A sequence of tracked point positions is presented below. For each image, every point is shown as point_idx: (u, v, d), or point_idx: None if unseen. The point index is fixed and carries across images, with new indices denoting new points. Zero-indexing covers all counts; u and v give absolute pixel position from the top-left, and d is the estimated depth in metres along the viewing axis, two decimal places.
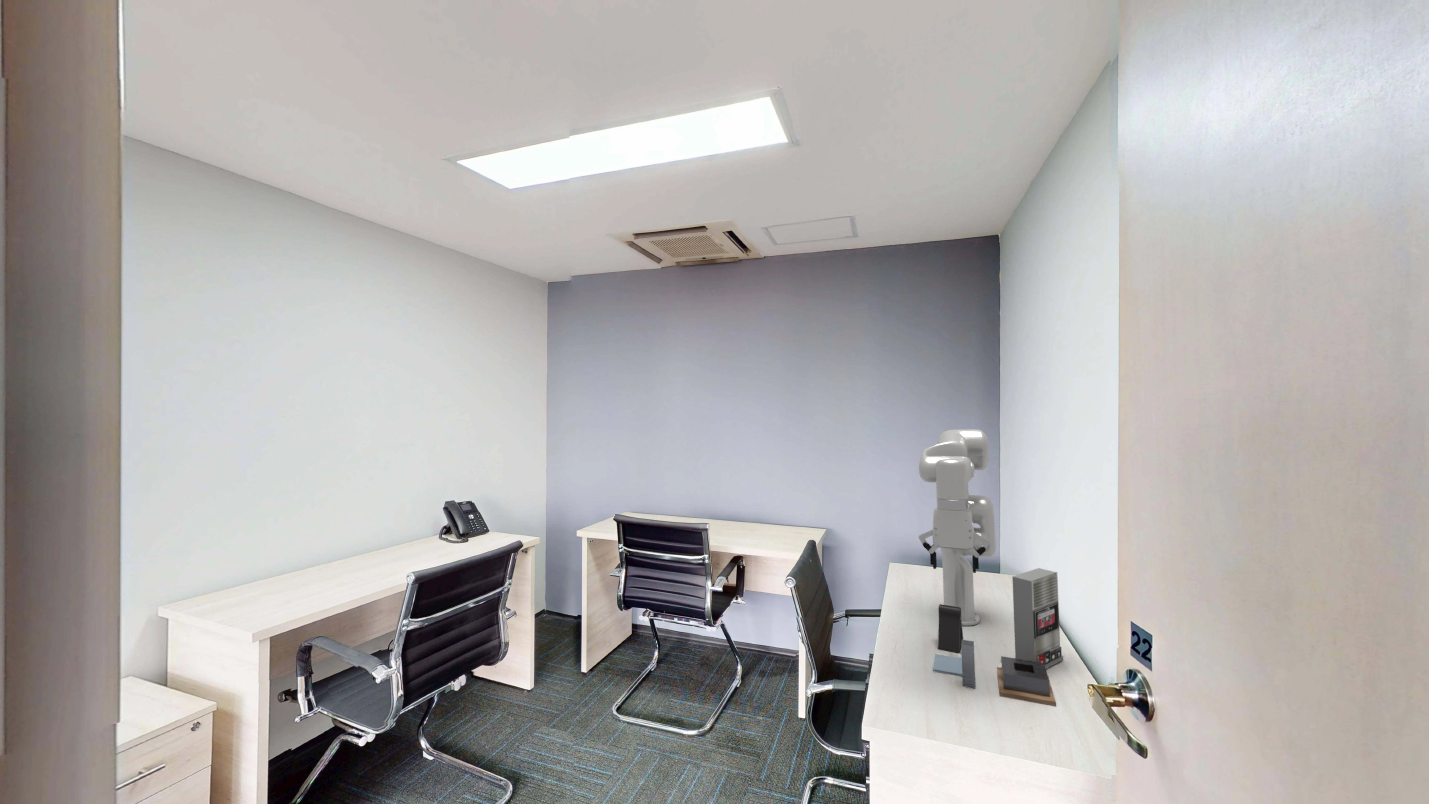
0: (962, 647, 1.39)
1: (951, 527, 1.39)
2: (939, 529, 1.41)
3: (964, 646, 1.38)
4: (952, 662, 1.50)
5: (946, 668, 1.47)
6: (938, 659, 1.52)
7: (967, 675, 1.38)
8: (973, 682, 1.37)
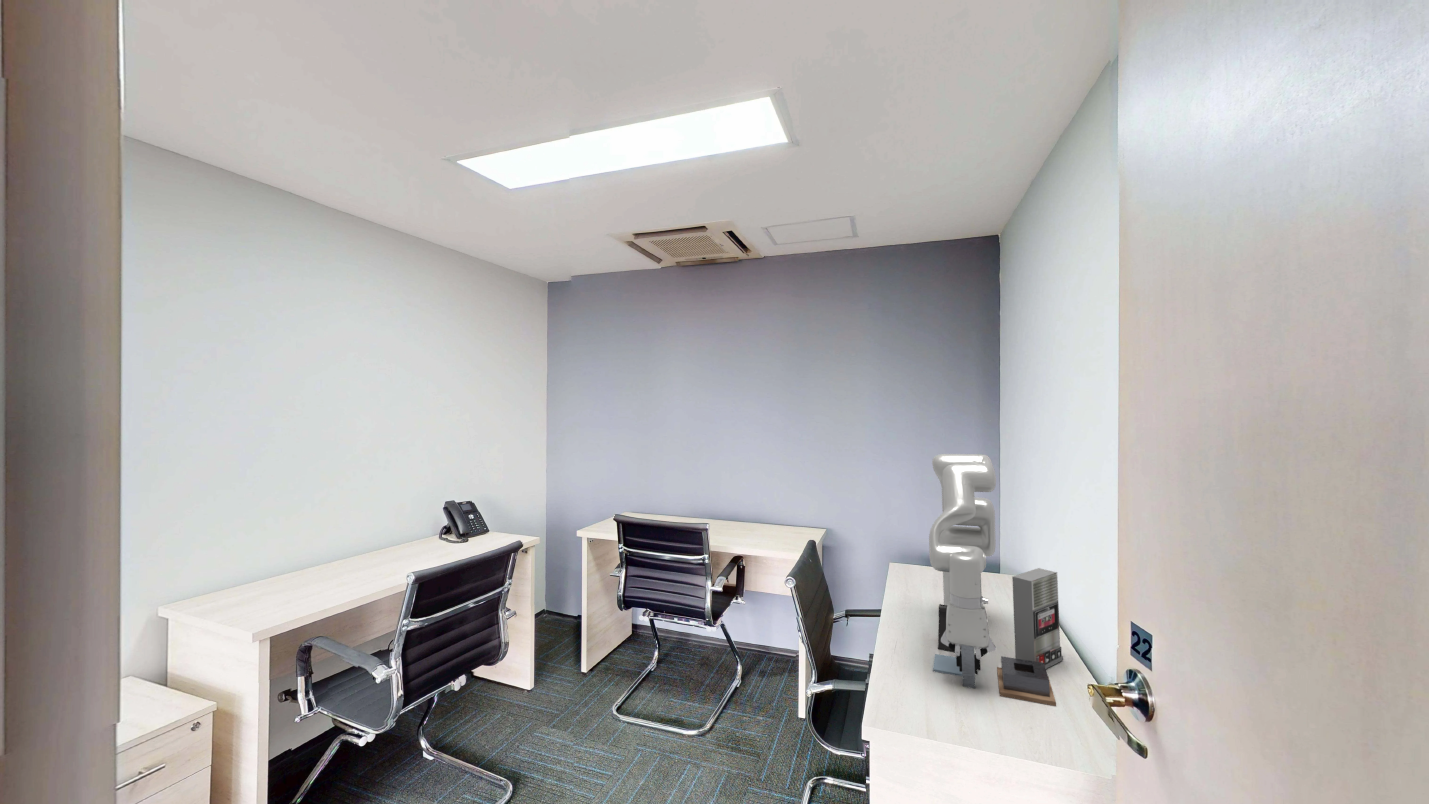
0: (962, 647, 1.38)
1: (965, 625, 1.37)
2: (953, 626, 1.39)
3: (964, 646, 1.38)
4: (952, 662, 1.50)
5: (946, 668, 1.47)
6: (938, 659, 1.52)
7: (967, 675, 1.38)
8: (973, 682, 1.37)
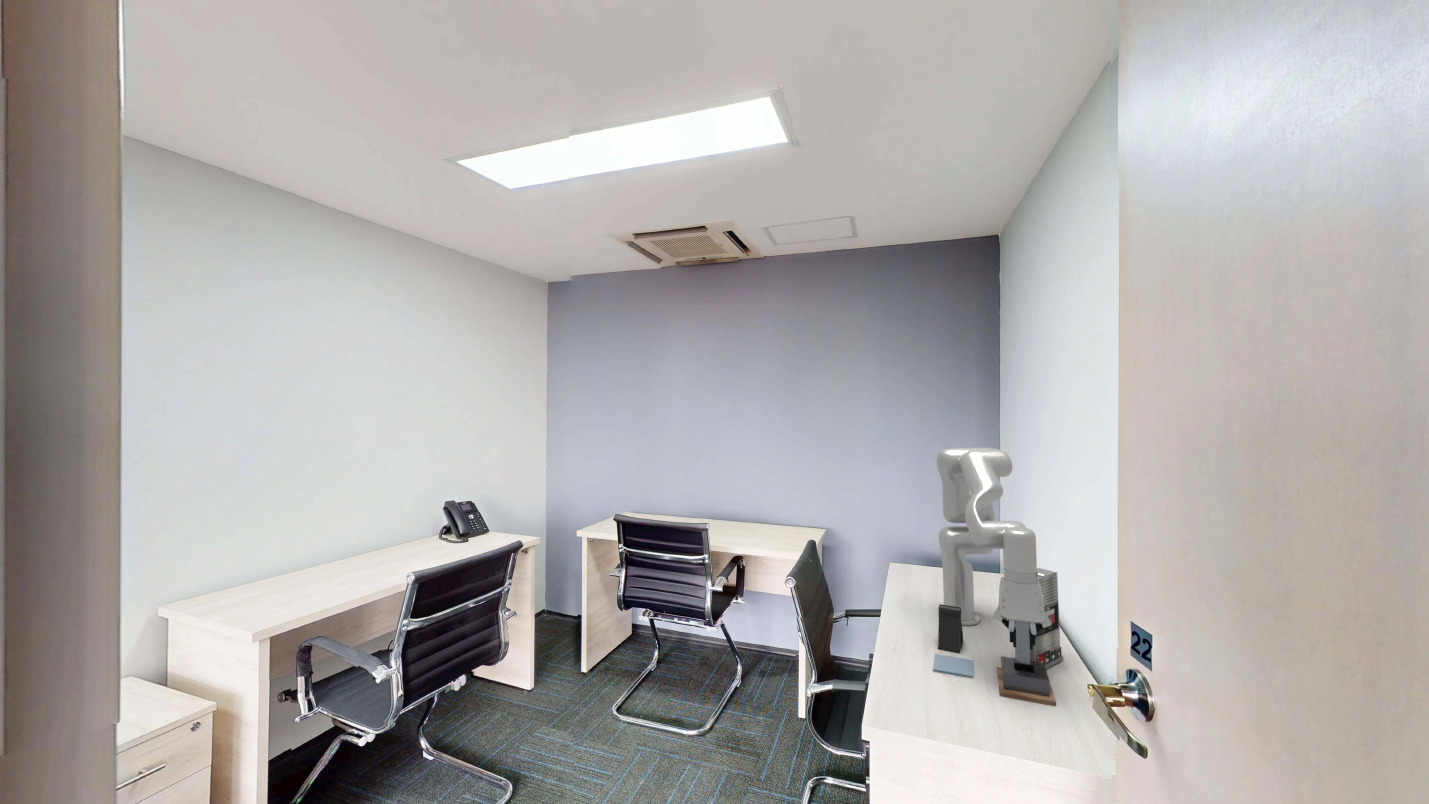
0: (1016, 623, 1.37)
1: (1020, 600, 1.36)
2: (1007, 601, 1.37)
3: (1018, 621, 1.37)
4: (952, 662, 1.50)
5: (946, 668, 1.47)
6: (938, 659, 1.52)
7: (1021, 650, 1.36)
8: (1028, 658, 1.36)
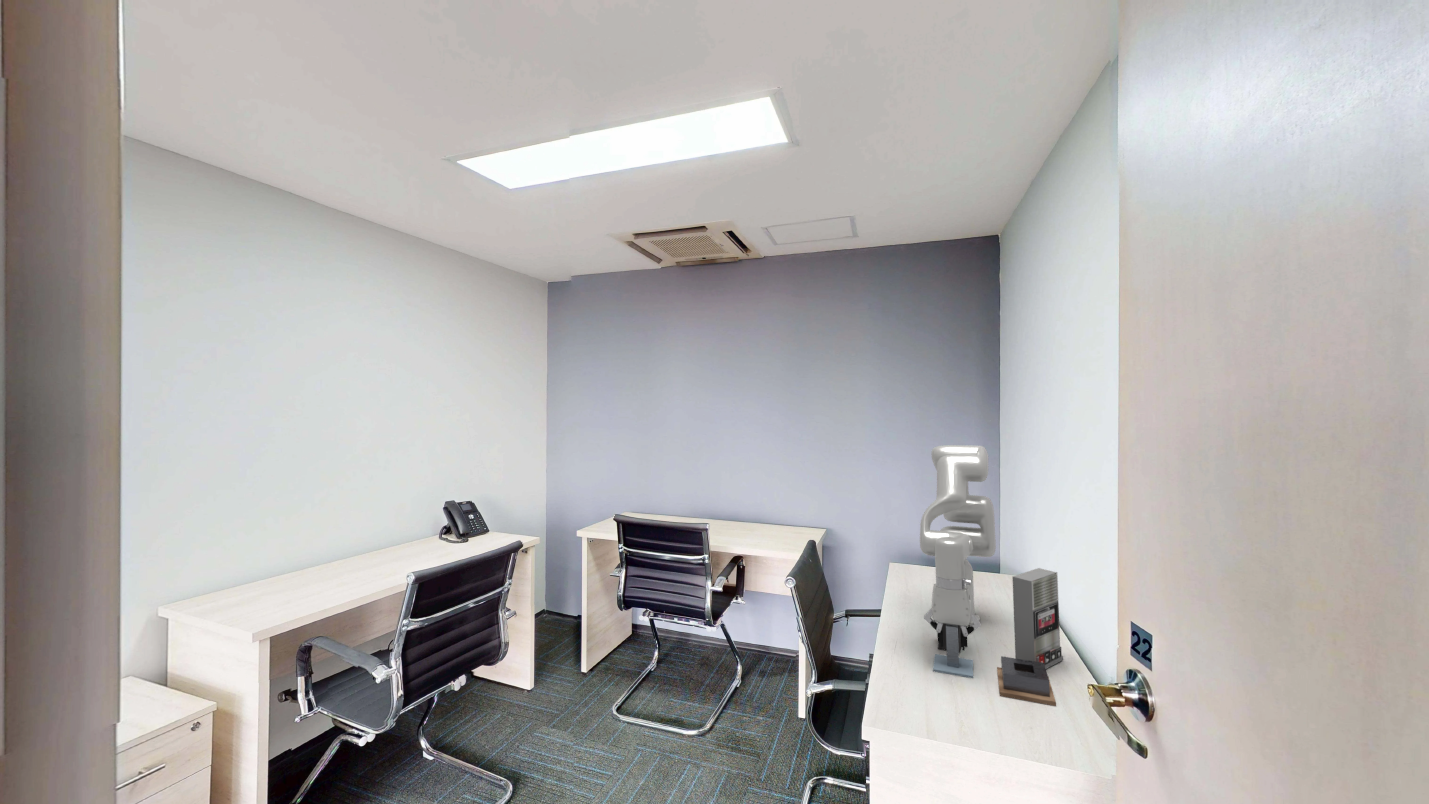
0: (947, 629, 1.48)
1: (949, 605, 1.47)
2: (938, 606, 1.49)
3: (948, 628, 1.48)
4: None
5: (946, 668, 1.47)
6: (938, 659, 1.52)
7: (951, 655, 1.48)
8: (957, 662, 1.47)
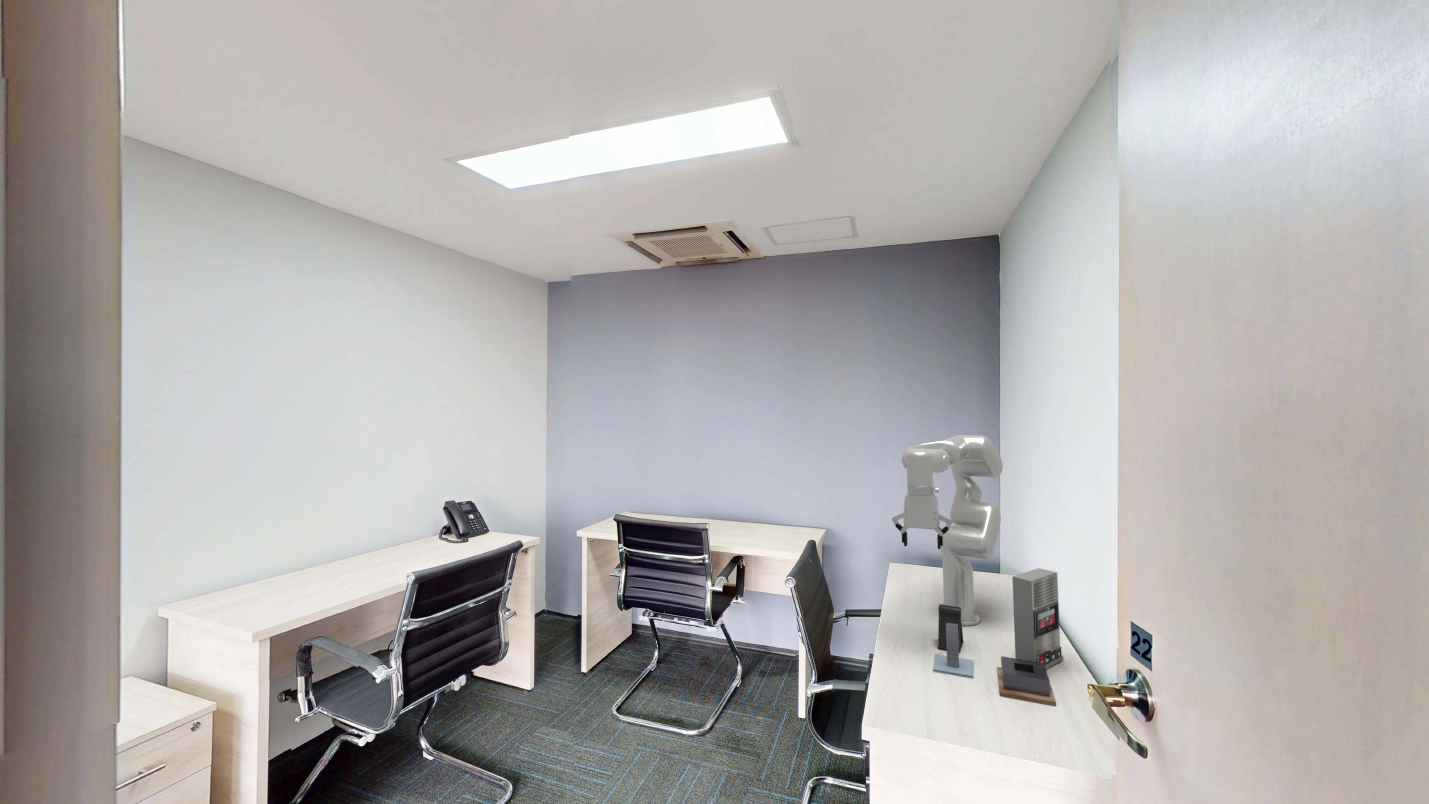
0: (947, 629, 1.48)
1: (919, 510, 1.61)
2: (909, 512, 1.62)
3: (948, 628, 1.48)
4: None
5: (946, 668, 1.47)
6: (938, 659, 1.52)
7: (951, 655, 1.48)
8: (957, 662, 1.47)
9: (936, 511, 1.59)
